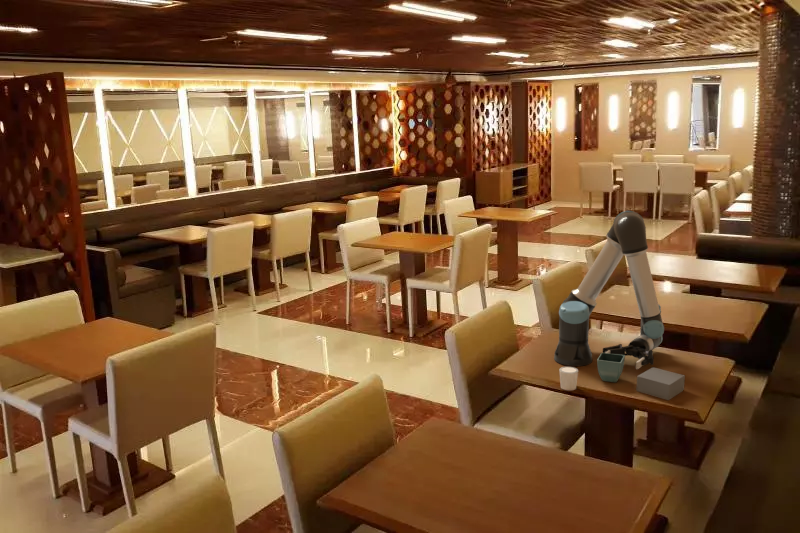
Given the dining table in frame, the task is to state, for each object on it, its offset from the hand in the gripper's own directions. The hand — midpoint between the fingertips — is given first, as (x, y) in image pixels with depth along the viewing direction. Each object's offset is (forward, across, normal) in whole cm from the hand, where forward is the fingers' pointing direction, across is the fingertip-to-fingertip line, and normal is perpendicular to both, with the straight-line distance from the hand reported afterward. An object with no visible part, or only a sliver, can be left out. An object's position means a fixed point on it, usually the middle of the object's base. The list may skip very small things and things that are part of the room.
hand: (619, 362), depth 255 cm
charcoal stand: (+4, -17, -6) cm, 19 cm away
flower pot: (+5, +1, -6) cm, 8 cm away
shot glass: (+21, +10, -6) cm, 24 cm away
